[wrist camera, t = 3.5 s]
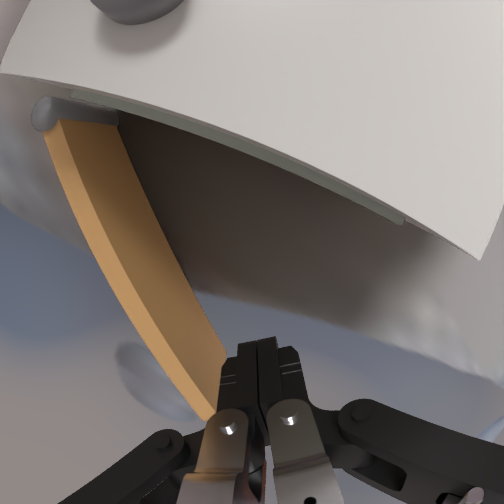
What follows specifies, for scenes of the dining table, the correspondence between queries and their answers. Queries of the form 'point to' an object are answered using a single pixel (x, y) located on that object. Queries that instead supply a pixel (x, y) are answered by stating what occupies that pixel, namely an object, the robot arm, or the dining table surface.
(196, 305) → the tan wooden plank
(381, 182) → the camera body
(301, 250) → the dining table surface
